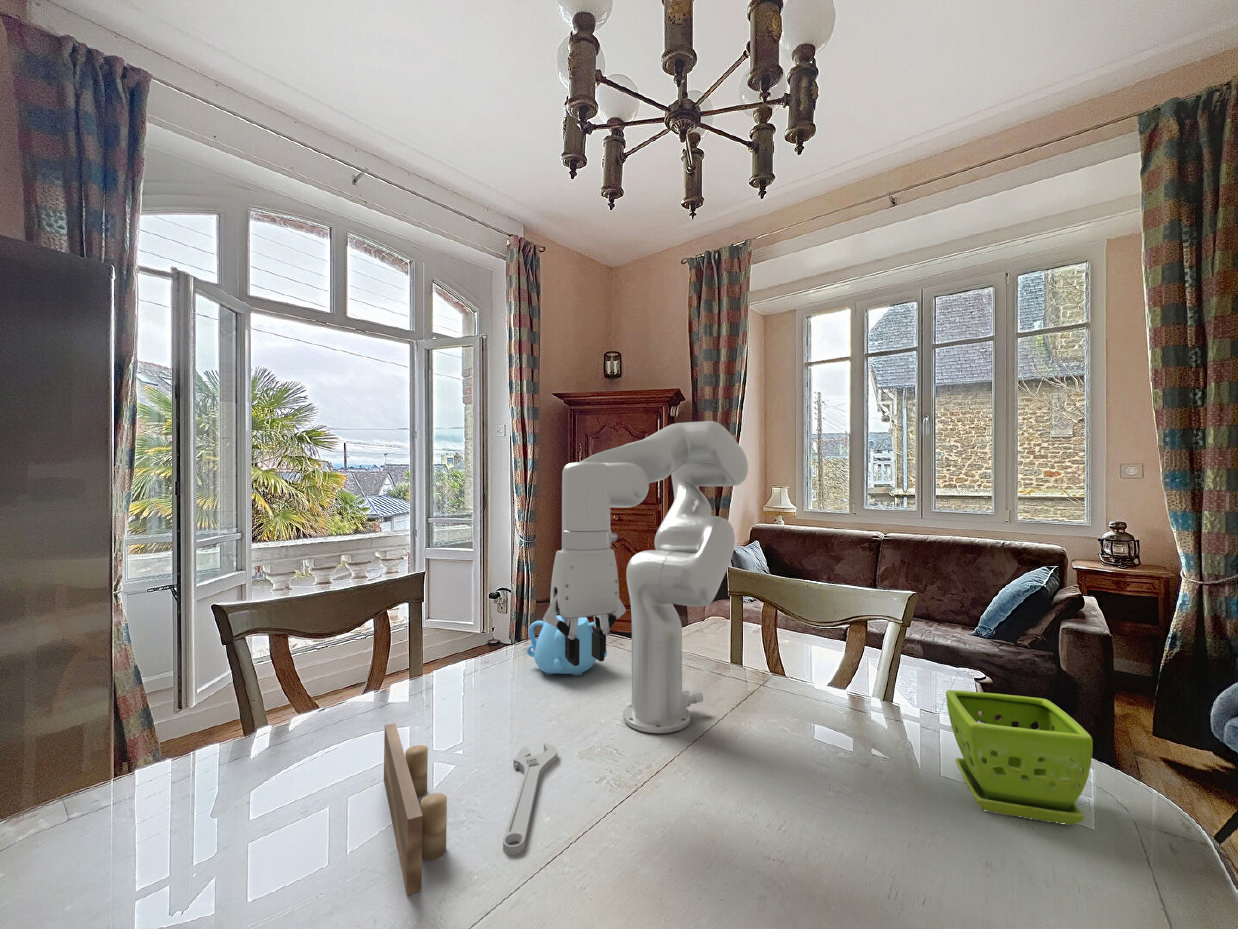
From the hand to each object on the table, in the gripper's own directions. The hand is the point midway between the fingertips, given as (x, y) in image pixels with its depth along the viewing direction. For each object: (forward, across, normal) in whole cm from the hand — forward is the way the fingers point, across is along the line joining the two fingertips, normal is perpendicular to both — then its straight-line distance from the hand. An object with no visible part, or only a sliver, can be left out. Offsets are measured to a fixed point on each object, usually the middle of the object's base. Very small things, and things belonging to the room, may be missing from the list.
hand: (585, 659), depth 83 cm
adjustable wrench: (+18, +10, 0) cm, 21 cm away
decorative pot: (+18, -16, -45) cm, 51 cm away
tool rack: (+17, +25, 0) cm, 30 cm away
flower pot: (+18, -50, +35) cm, 64 cm away
